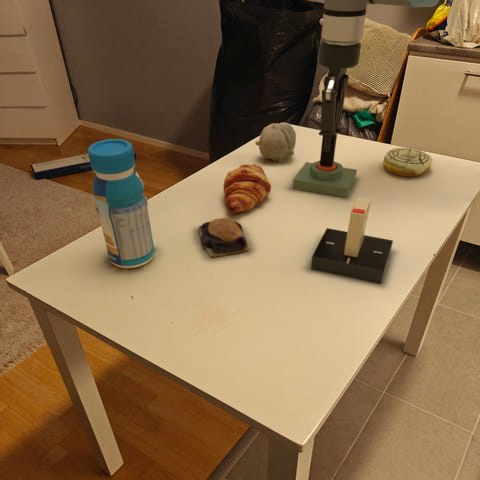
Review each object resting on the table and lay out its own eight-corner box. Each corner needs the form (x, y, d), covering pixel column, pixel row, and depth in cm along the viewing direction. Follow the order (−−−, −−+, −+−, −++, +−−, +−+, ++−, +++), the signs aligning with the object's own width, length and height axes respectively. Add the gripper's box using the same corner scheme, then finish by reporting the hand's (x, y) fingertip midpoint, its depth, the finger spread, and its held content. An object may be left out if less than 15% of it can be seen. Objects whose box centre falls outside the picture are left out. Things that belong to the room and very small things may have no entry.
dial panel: (390, 252, 83) (393, 239, 81) (381, 283, 76) (384, 270, 74) (325, 239, 86) (326, 227, 85) (310, 268, 80) (312, 255, 78)
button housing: (355, 178, 106) (358, 161, 103) (346, 197, 99) (348, 180, 96) (305, 170, 109) (306, 154, 107) (292, 188, 102) (293, 171, 100)
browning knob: (350, 238, 82) (357, 196, 76) (363, 241, 81) (371, 198, 76) (343, 255, 78) (350, 211, 73) (356, 257, 77) (364, 213, 72)
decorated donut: (426, 182, 104) (430, 166, 101) (378, 174, 107) (381, 158, 105) (432, 164, 111) (436, 148, 108) (386, 157, 114) (390, 142, 112)
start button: (336, 170, 103) (337, 163, 102) (332, 178, 100) (333, 170, 99) (319, 168, 104) (320, 160, 103) (314, 175, 102) (315, 167, 100)
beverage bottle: (143, 273, 79) (121, 160, 66) (99, 266, 81) (70, 154, 68) (163, 247, 85) (147, 139, 72) (122, 241, 87) (99, 134, 74)
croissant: (246, 188, 110) (230, 158, 106) (283, 172, 105) (268, 140, 102) (221, 231, 95) (202, 198, 91) (264, 215, 90) (246, 179, 86)
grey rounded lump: (292, 166, 117) (309, 129, 110) (277, 173, 111) (294, 134, 104) (262, 147, 119) (277, 110, 112) (246, 153, 113) (260, 114, 106)
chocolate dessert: (196, 229, 90) (194, 212, 88) (237, 223, 91) (237, 206, 89) (207, 259, 82) (205, 241, 80) (252, 251, 84) (252, 234, 81)
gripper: (329, 32, 91) (317, 151, 107) (311, 47, 82) (301, 173, 98) (367, 35, 89) (349, 155, 104) (353, 50, 80) (336, 179, 95)
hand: (326, 164), depth 101 cm, fingers closed
